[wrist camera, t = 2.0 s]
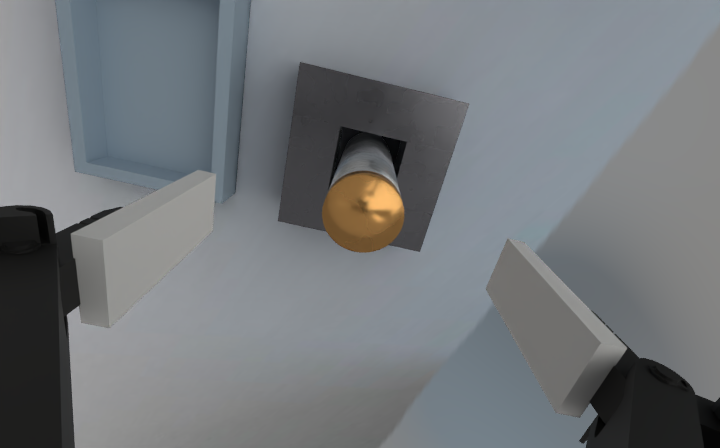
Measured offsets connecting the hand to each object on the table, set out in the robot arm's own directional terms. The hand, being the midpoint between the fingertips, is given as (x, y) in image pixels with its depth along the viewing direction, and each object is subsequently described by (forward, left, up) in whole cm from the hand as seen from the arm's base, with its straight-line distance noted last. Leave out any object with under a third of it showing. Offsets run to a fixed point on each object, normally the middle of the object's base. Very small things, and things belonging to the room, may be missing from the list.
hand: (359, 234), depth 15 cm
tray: (-2, -17, -16) cm, 23 cm away
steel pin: (0, 0, -16) cm, 16 cm away
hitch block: (0, 0, -16) cm, 16 cm away
